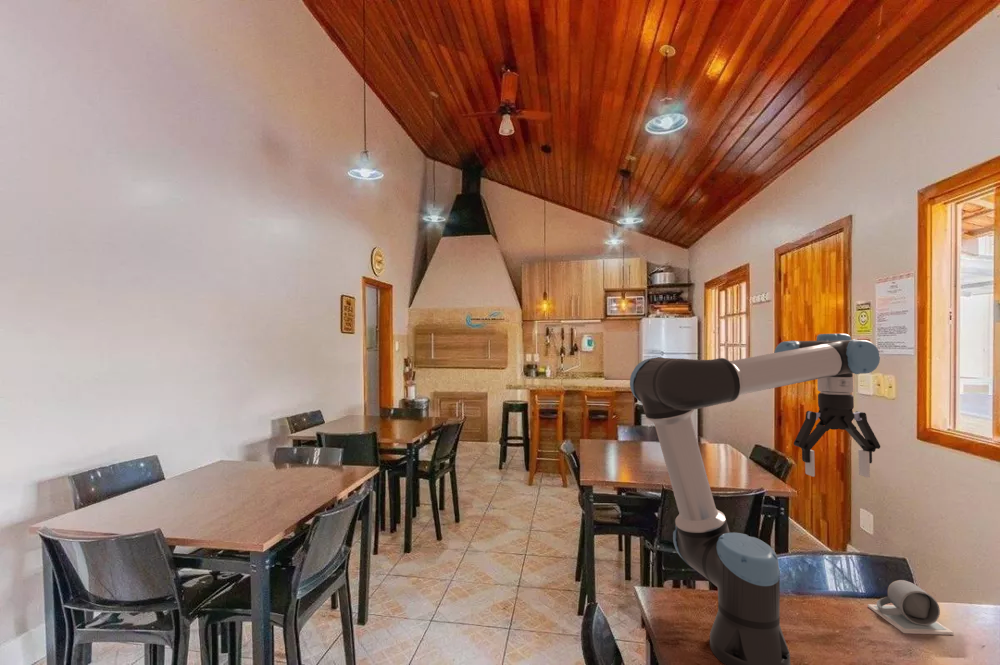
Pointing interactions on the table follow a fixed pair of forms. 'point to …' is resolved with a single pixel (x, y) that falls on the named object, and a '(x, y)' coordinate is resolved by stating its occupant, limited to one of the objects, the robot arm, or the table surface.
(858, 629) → the table surface
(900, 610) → the ceramic mug
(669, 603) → the table surface
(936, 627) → the plate
